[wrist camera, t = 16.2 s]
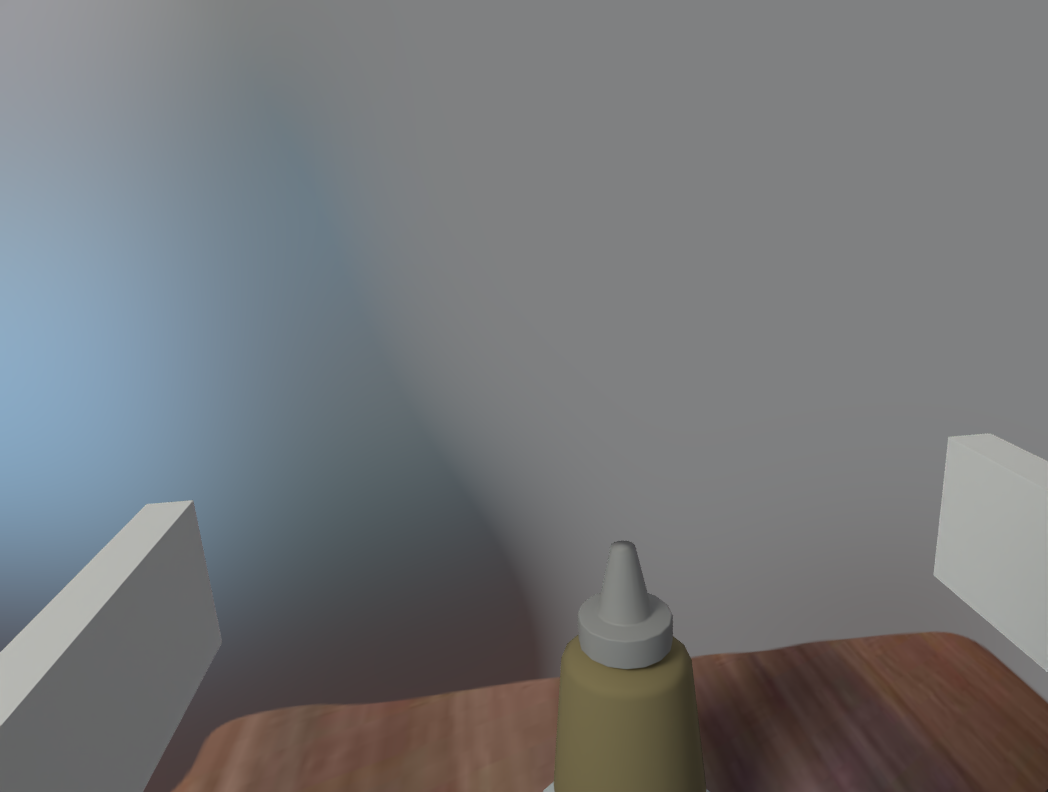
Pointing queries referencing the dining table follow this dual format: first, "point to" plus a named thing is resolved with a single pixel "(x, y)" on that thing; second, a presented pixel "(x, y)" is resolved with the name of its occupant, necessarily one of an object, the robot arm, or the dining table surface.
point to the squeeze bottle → (627, 693)
